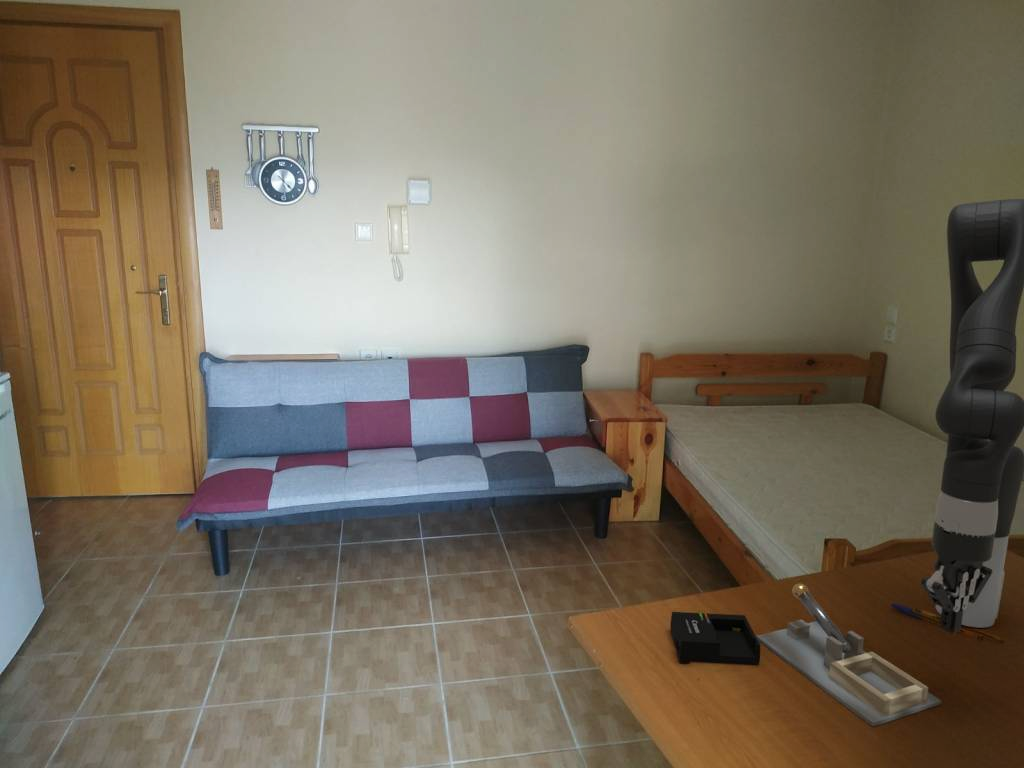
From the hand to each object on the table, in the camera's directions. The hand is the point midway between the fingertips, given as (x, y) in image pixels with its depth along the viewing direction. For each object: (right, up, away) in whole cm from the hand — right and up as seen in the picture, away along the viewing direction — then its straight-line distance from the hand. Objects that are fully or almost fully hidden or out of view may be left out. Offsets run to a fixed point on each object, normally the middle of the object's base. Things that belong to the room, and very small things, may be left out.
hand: (949, 629), depth 105 cm
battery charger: (-32, -8, +13) cm, 36 cm away
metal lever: (-15, -3, +12) cm, 19 cm away
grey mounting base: (-13, -9, +7) cm, 17 cm away
